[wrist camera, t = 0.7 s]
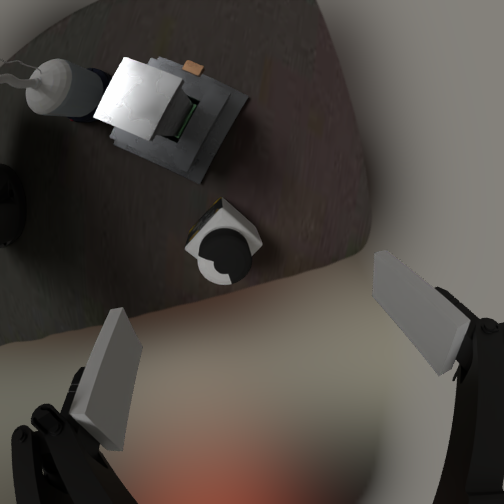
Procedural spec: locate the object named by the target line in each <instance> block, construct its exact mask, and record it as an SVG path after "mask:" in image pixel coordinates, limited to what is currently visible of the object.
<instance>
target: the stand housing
mask: <svg viewBox="0 0 504 504" xmlns="http://www.w3.org/2000/svg"><path fill="white" fill-rule="evenodd" d="M147 65H149V66H152V67H154V68H157V69H160V70H162V71H165V72H167V73H170V74H172V75H175V76H177V77H180V78H182V79H183V80H184V82H185V83H184V85H183V86H182V89H183V91H184V92H185V94H186V95H187V96H188V98H189V99H190V100H191V102H192V103H193V104H194V105H196V106H197V108H196V110H195V111H194V113H193V115H192V117H191V119H190V120H189V122H188V124H187V126H186V128H185V130H184V132H183V133H182V135H181V137H180V139H178V138H176V137H174V136H159V135H156V136H155V138H154V140H153V141H148V140H146V139H143V138H141V137H139V136H136V135H134V134H132V133H130V132H127V131H125V130H123V129H120V128H118V127H115V126H114V128H113V131H112V133H111V135H110V138H113V139H115V142H114V144H113V145H116V146H118V147H120V148H122V149H125V150H127V151H129V152H131V153H134V154H136V155H138V156H140V157H142V158H145V159H147V160H149V161H151V162H153V163H156V164H158V165H160V166H162V167H164V168H166V169H168V170H171V171H173V172H175V173H177V174H179V175H181V176H183V177H185V178H187V179H190V180H192V181H194V182H196V183H198V184H200V183H201V181H202V179H203V177H204V175H205V173H206V171H207V169H208V167H209V165H210V164H211V162H212V160H213V158H214V156H215V154H216V152H217V151H218V149H219V147H220V145H221V143H222V141H223V140H224V138H225V136H226V134H227V133H228V131H229V129H230V127H231V126H232V124H233V122H234V120H235V119H236V117H237V115H238V114H239V112H240V110H241V108H242V107H243V105H244V103H245V102H246V100H247V99H248V97H249V96H247V95H245V94H243V93H241V92H239V91H237V90H235V89H233V88H231V87H229V86H227V85H225V84H223V83H221V82H219V81H217V80H215V79H213V78H210V77H208V76H206V75H204V74H202V73H203V72H204V66H201V65H199V64H197V63H194V62H192V61H189V60H187V61H186V63H185V65H184V66H183V65H180V64H178V63H175V62H172V61H170V60H167V59H165V58H162V57H159V58H158V60H156V59H153V58H151V59H150V61H149V62H148V64H147Z"/></svg>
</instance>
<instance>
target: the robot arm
mask: <svg viewBox="0 0 504 504" xmlns="http://www.w3.org/2000/svg"><path fill="white" fill-rule="evenodd" d="M25 220H26V200H25V194H24V191H23V187H22V185H21V182H20V180H19V178H18V176H17V175H16V173H15V172H14V171H13V170H12V169H11V168H10V167H8V166H7V165H4V164H0V248H3V247H6V246H8V245H10V244H11V243H12V242H14V241H15V240H16V239H17V238H18V237H19V236H20V234H21V233H22V231H23V228H24V225H25ZM372 296H373V298H374V299H375V300H376V301H377V302H378V303H379V304H380V305H381V307H382V308H383V309H384V310H385V311H386V312H387V313H388V315H389V316H390V317H391V318H392V319H393V320H394V322H395V323H396V324H397V325H398V326H399V328H400V329H401V330H402V331H403V332H404V333H405V335H406V336H407V337H408V338H409V340H410V341H411V342H412V343H413V344H414V345H415V347H416V348H417V349H418V350H419V352H420V353H421V354H422V355H423V357H424V358H425V359H426V360H427V362H428V363H429V364H430V365H431V367H432V368H433V369H434V371H435V372H436V373H437V374H438V376H440V375H442V374H444V373H445V372H447V371H449V370H450V369H452V367H453V364H454V362H455V360H457V361H458V362H459V366H458V369H457V371H456V373H455V375H454V377H453V381H455V379H456V377H457V388H456V398H455V407H454V416H453V422H452V429H451V435H450V440H449V445H448V450H447V455H446V459H445V463H444V467H443V471H442V475H441V479H440V482H439V486H438V489H437V492H436V495H435V498H434V501H433V504H504V491H503V489H502V486H503V479H504V322H503V323H499V324H498V323H497V322H496V321H494V320H493V319H490V318H482V319H479V318H478V317H476V315H474V314H473V313H472V312H471V311H470V310H469V309H468V308H467V307H465V306H464V305H463V304H462V303H460V302H459V301H458V300H457V299H456V298H454V296H452V295H451V294H450V293H449V292H448V291H446V290H444V289H442V288H440V287H435V288H434V287H432V286H431V285H430V284H429V283H428V282H426V281H425V280H424V279H423V278H422V277H420V276H419V275H418V274H417V273H415V272H414V271H413V270H412V269H411V268H409V267H408V266H407V265H406V264H404V263H403V262H402V261H400V260H399V259H398V258H397V257H395V256H394V255H392V254H391V253H390V252H389V251H387V250H383V251H379V252H375V253H374V277H373V293H372ZM142 348H143V347H142V345H141V343H140V341H139V339H138V337H137V335H136V333H135V331H134V329H133V327H132V325H131V323H130V321H129V319H128V317H127V315H126V313H125V310H124V308H123V307H122V308H116V309H110V312H109V314H108V316H107V318H106V320H105V322H104V325H103V327H102V329H101V331H100V334H99V336H98V338H97V340H96V343H95V345H94V347H93V350H92V352H91V355H90V357H89V360H88V362H87V365H86V367H81V368H80V369H79V370H78V372H77V373H76V374H75V375H74V378H73V380H72V383H71V386H70V388H69V393H67V396H66V399H65V402H64V404H63V407H62V410H61V413H59V412H58V411H57V410H56V409H55V408H54V407H53V406H52V405H50V404H43V405H41V406H39V407H38V408H37V409H35V411H34V412H33V414H32V418H31V424H32V425H33V426H34V427H35V428H36V429H37V430H38V431H36V432H33V431H32V430H31V429H30V428H29V427H28V426H26V425H22V426H19V427H17V429H15V431H14V432H13V435H12V439H11V442H12V443H11V446H12V468H13V479H14V487H15V494H16V501H17V504H138V503H137V502H136V500H135V499H134V498H133V497H132V495H131V494H130V493H129V491H128V490H127V489H126V488H125V486H124V485H123V483H122V482H121V481H120V479H119V478H118V476H117V475H116V474H115V472H114V471H113V469H112V468H111V466H110V465H109V463H108V462H107V460H106V459H105V457H104V456H103V454H102V453H101V452H100V451H99V445H100V444H101V445H102V446H103V447H104V448H105V449H107V450H111V451H123V445H124V439H125V433H126V426H127V420H128V415H129V409H130V404H131V399H132V394H133V389H134V384H135V379H136V374H137V370H138V365H139V361H140V357H141V352H142ZM42 469H43V471H44V475H43V472H42Z"/></svg>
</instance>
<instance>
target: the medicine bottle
mask: <svg viewBox="0 0 504 504" xmlns="http://www.w3.org/2000/svg"><path fill="white" fill-rule="evenodd" d="M262 245H263V243H262V241H261V238H260V236H259V234H258V231H257V229H256V227H255V226H254V225H253V224H252V223H251V222H250V221H249V220H248V219H246V218H245V217H244V216H243V215H242V214H241V213H240V212H239V211H238V210H236V209H235V208H234V207H233V206H232V205H231V204H230V203H229V202H227V201H226V200H225V199H224V198H223V197H220V198H219V199H218V200H217V201H216V202H215V203H214V204H213V205H212V206H211V207H210V209H209V210H208V211H207V212H206V213H205V214H204V215H203V216H202V217H201V218H200V220H199V221H198V222H197V223H196V224H195V225H194V226H193V227H192V229H191V230H190V231H189V235H188V239H187V242H186V246H185V250H186V251H187V252H189V253H190V254H191V255H192V256H194V257H195V258H196V259H198V267H199V269H200V271H201V273H202V274H203V276H204V277H205V278H206V279H208V280H209V281H211V282H213V283H216V284H220V285H229V284H233V283H236V282H238V281H240V280H241V279H243V278H244V277H245V276H246V275H247V273H248V272H249V270H250V268H251V264H252V255H253V254H254V253H255V252H256V251H257V250H258V249H259V248H260V247H261V246H262Z"/></svg>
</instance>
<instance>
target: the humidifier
mask: <svg viewBox="0 0 504 504" xmlns="http://www.w3.org/2000/svg"><path fill="white" fill-rule="evenodd" d="M0 60H1V61H3V62H5V63H11V62H15V61H18V62H20V63H21V64H23V63H22V62H21V61H19V60H15V61H11V62H6V61H4V60H2V59H0ZM23 65H25V66H28V67H32V68H36V67H33V66H29V65H26V64H23ZM111 80H112V77H111V76H109V75H108V74H107V73H105V72H104V71H102V70H99V69H95V68H88V69H85V68H83V67H81V66H78V65H76V64H74V63H72V62H69V61H66V60H63V59H53V60H50V61H47V62H45V63H44V64H42V65H41V66H39V67H38V68H36V70H35V71H34V73H33V74H32V76H31V77H30V79H25V80H22V79H18V78H16V77H15V76H13V75H12V74H3V75H0V84H1V83H8V84H9V85H11V86H13V87H15V88H26V100H27V103H28V106H29V107H30V108H31V109H32V110H33V112H35V113H37V114H41V115H49V116H67V117H68V118H69V119H70V120H71V121H76V122H93V121H96V120H98V119H96V118H94V114H95V112H96V110H97V108H98V106H99V104H100V102H101V100H102V98H103V95H104V93H105V91H106V90H107V88H108V86H109V84H110V82H111Z"/></svg>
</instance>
